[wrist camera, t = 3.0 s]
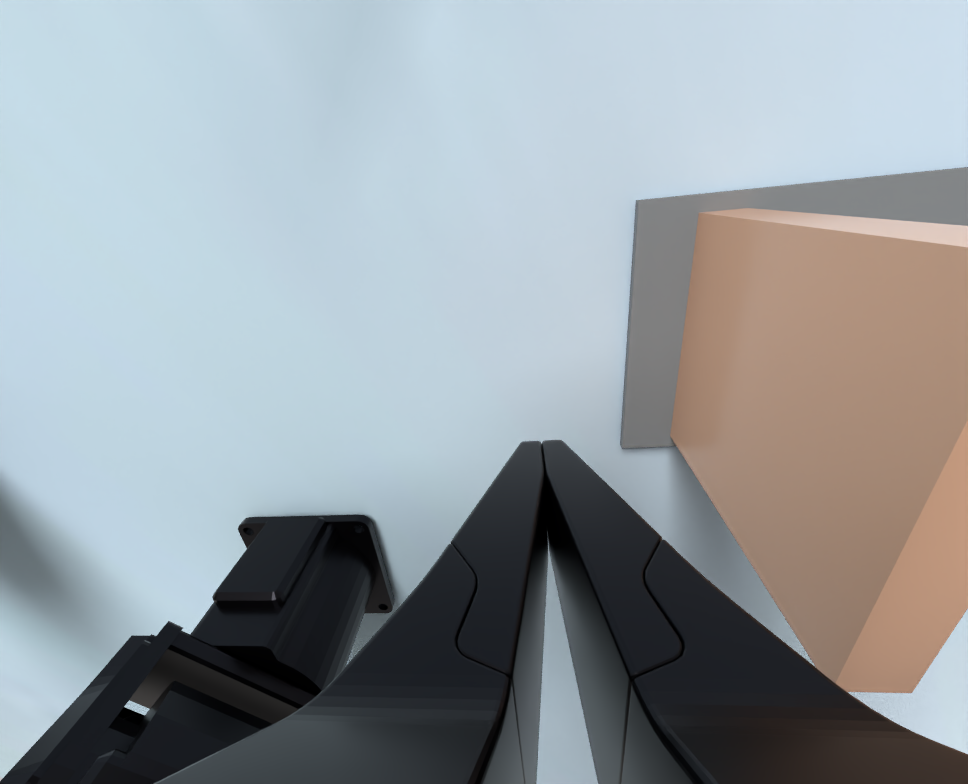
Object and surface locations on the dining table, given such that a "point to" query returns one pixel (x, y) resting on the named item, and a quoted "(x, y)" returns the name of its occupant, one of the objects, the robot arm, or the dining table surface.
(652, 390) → the mat
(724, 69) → the dining table surface
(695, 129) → the dining table surface
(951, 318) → the tile
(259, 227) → the dining table surface
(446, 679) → the robot arm
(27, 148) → the dining table surface
